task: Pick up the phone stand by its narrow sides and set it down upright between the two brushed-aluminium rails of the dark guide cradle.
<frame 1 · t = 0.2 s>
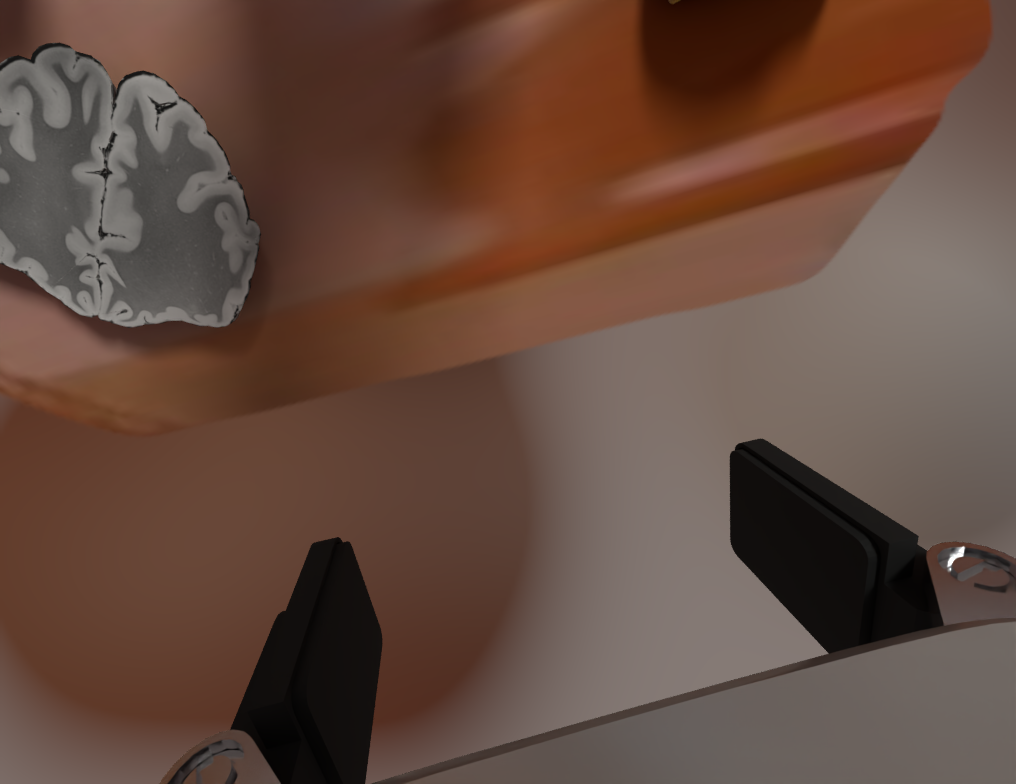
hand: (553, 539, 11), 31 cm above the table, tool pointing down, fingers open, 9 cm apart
brain slice: (132, 201, 34), on the table
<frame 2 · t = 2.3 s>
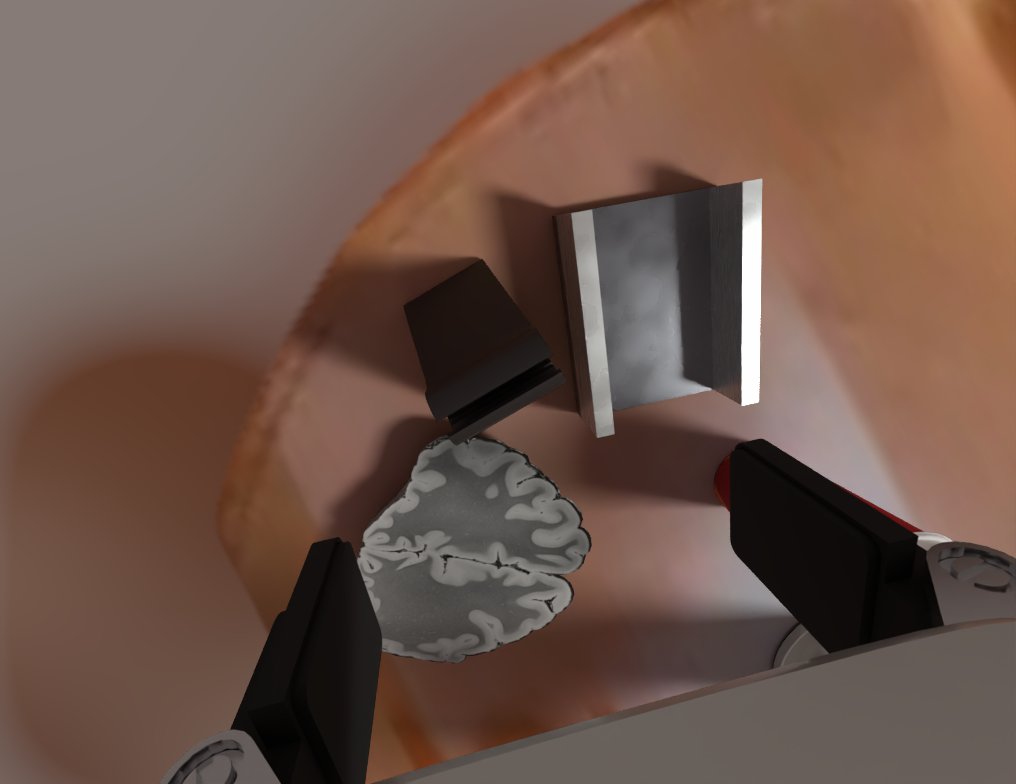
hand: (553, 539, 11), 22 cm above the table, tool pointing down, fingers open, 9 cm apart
guide cradle: (643, 306, 33), on the table
phone stand: (476, 339, 32), on the table
coffee cup: (746, 475, 39), on the table
brain slice: (473, 536, 38), on the table
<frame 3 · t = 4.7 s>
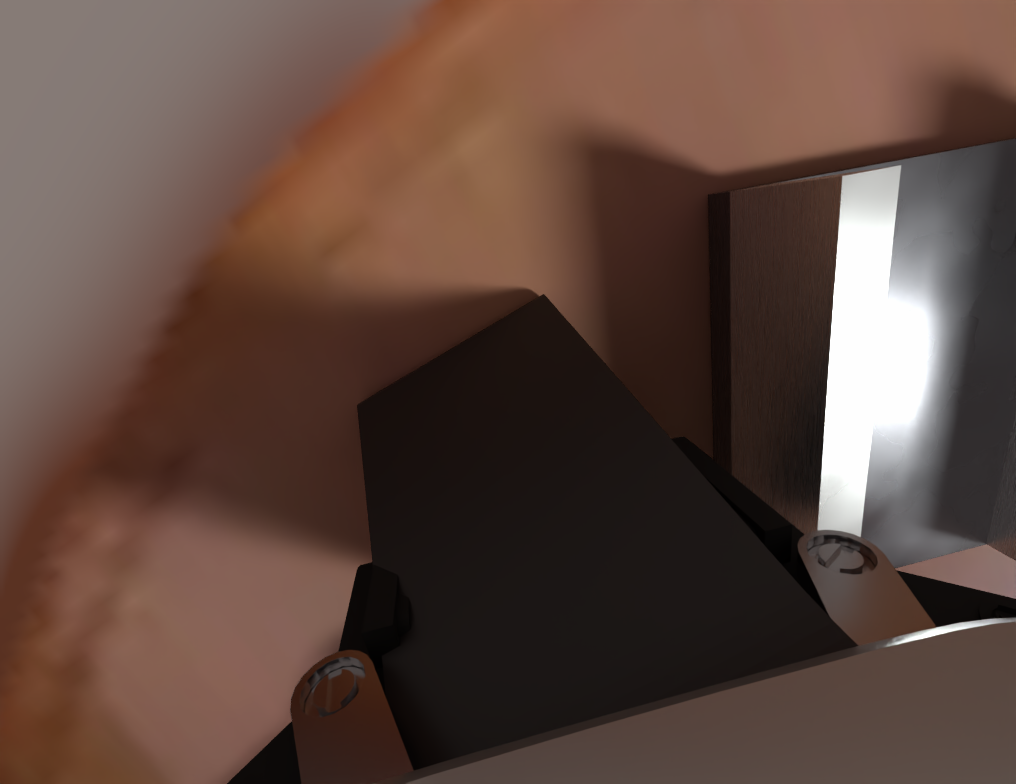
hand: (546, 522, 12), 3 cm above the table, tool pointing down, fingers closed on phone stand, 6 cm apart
guide cradle: (872, 387, 16), on the table
phone stand: (523, 462, 15), on the table, touching gripper
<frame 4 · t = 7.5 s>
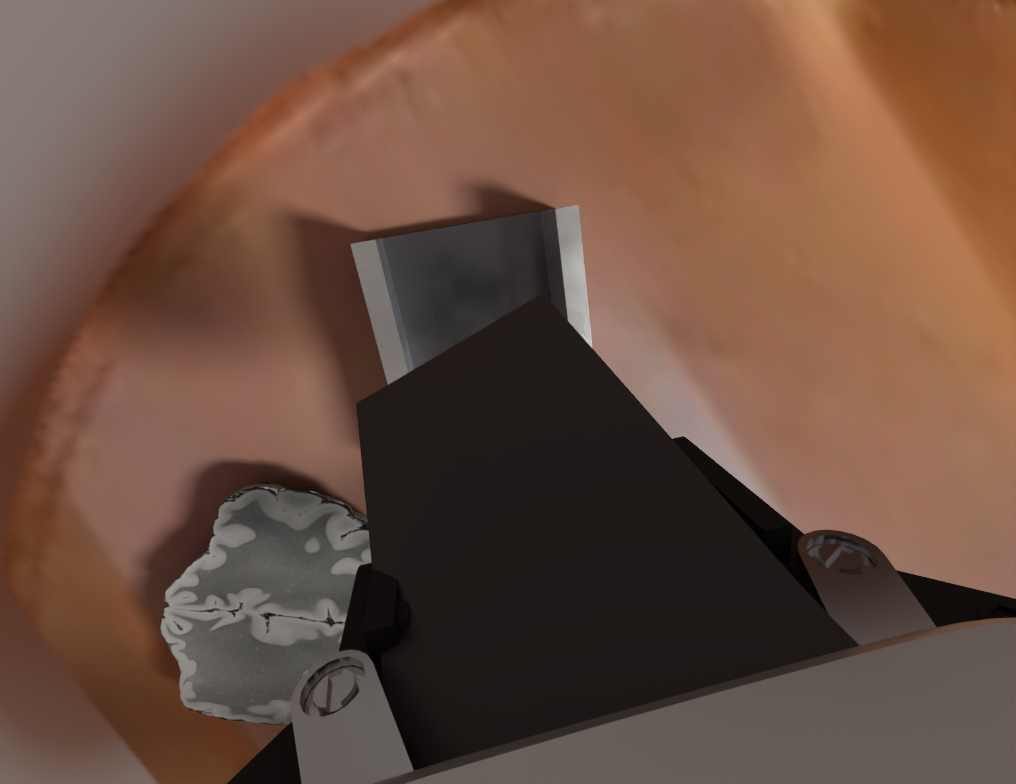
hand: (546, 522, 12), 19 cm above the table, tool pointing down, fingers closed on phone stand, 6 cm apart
guide cradle: (482, 340, 30), on the table
phone stand: (523, 461, 15), point 16 cm above the table, touching gripper
brain slice: (315, 586, 34), on the table
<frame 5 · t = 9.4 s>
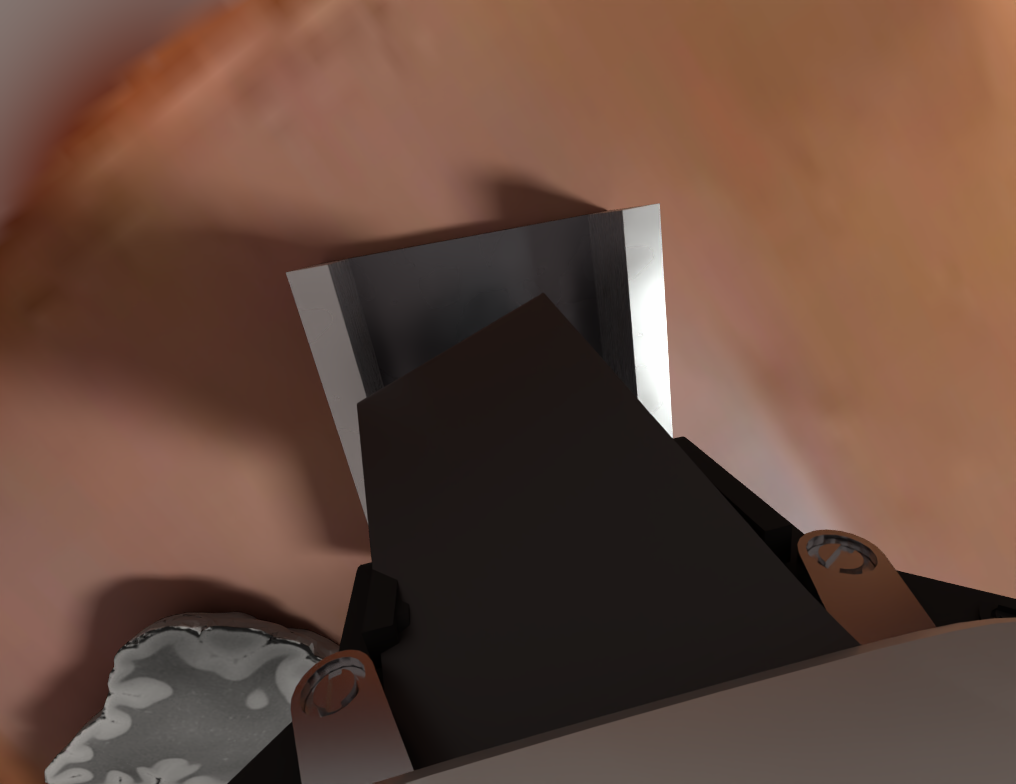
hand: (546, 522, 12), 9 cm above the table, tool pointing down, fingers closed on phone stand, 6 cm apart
guide cradle: (500, 401, 21), on the table
phone stand: (523, 461, 15), point 6 cm above the table, touching gripper
brain slice: (273, 727, 25), on the table
when the fingers open (6 cm above the table, at t = 10.6 s): phone stand drops 2 cm, resting on guide cradle.
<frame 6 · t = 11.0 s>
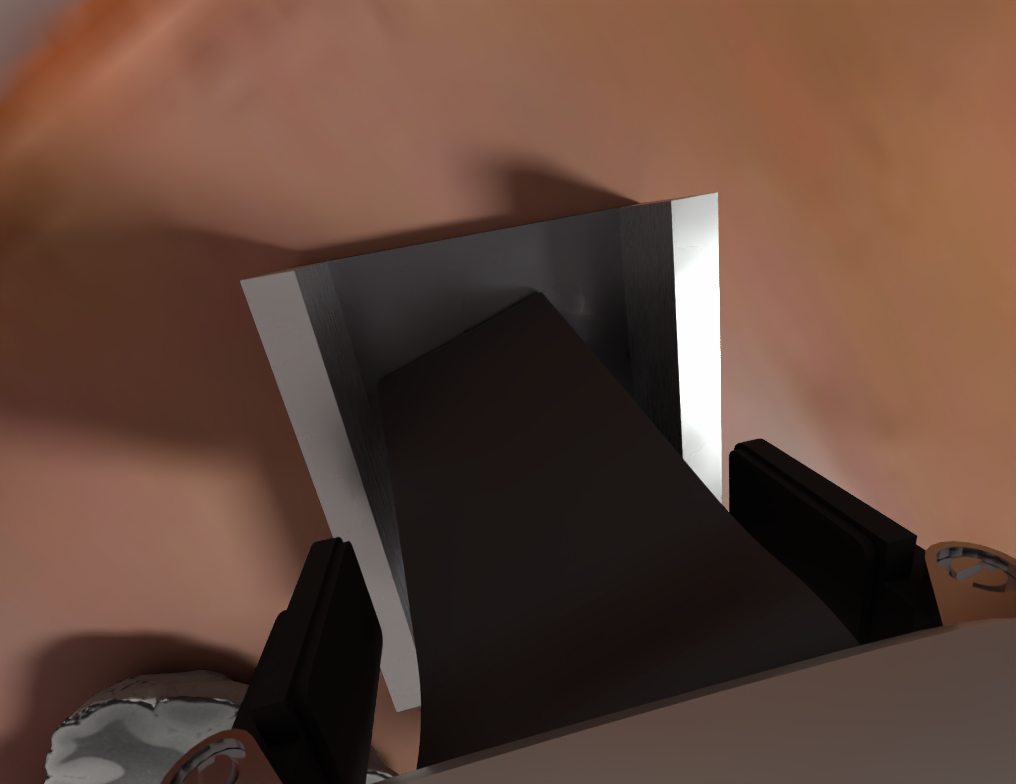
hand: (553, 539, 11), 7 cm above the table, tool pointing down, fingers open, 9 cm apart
guide cradle: (509, 427, 18), on the table
phone stand: (519, 440, 17), point 1 cm above the table, touching guide cradle
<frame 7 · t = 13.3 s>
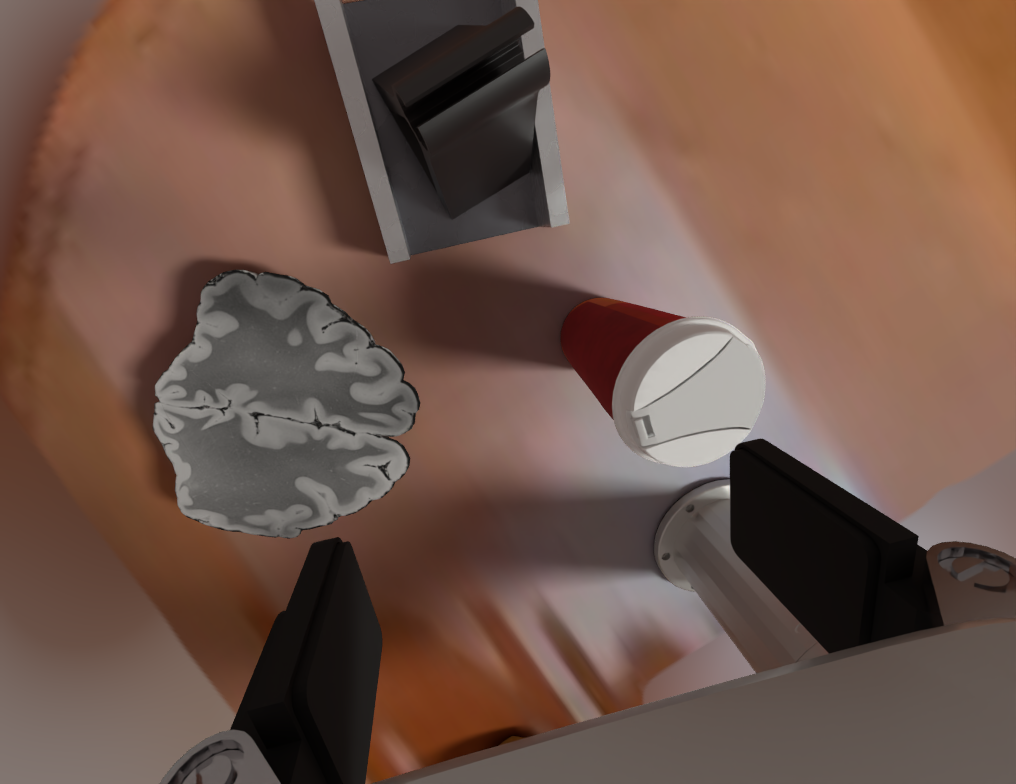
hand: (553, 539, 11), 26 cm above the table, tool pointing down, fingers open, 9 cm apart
guide cradle: (449, 129, 30), on the table
phone stand: (454, 130, 30), point 1 cm above the table, touching guide cradle
coffee cup: (596, 334, 37), on the table
brain slice: (303, 404, 35), on the table
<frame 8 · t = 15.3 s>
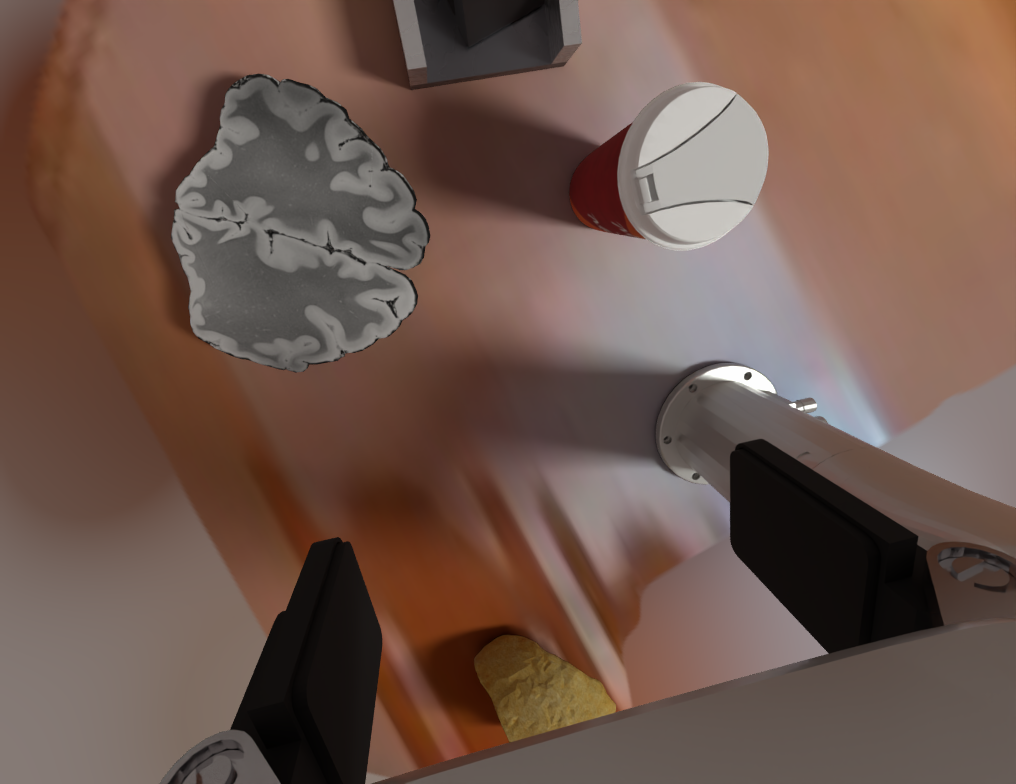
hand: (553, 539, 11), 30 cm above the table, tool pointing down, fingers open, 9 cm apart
decorative stone: (539, 669, 54), on the table
coffee cup: (604, 191, 38), on the table
brain slice: (316, 241, 36), on the table
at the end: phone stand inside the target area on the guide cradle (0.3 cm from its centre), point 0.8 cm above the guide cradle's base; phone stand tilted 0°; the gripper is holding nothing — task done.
